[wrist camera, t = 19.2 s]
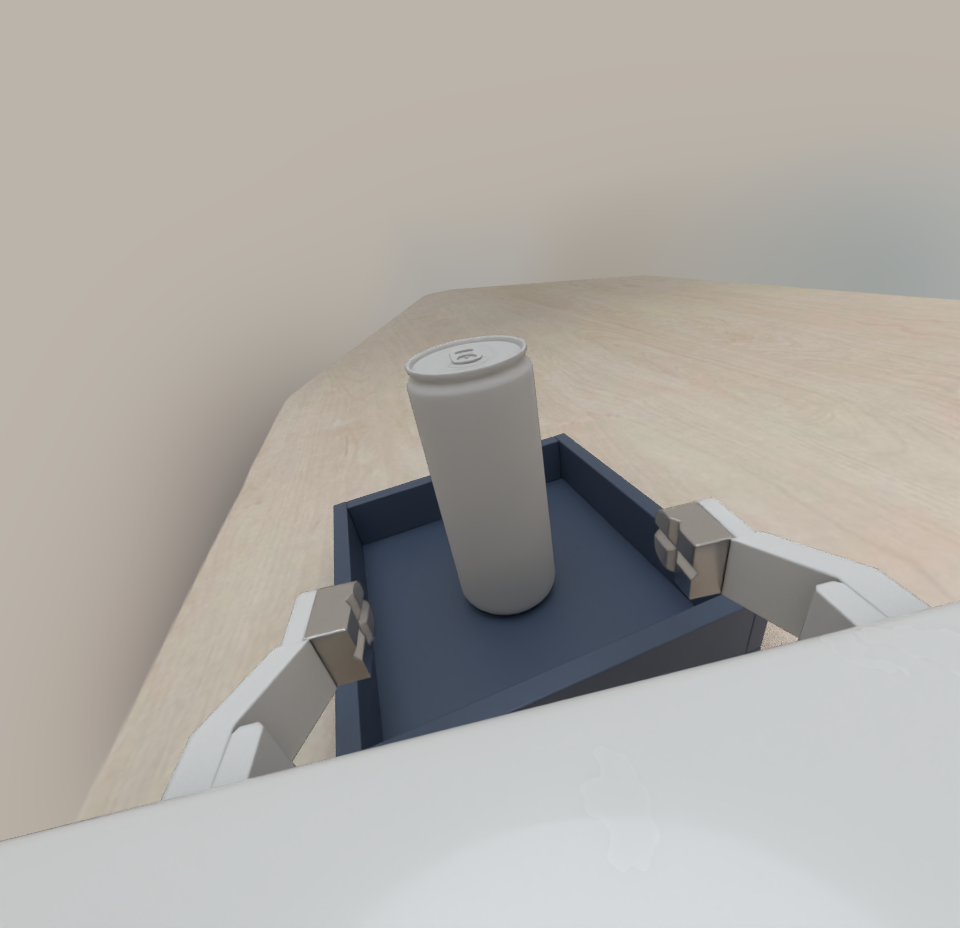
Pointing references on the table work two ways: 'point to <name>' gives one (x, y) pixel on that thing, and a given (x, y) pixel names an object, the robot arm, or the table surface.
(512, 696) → the tray
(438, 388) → the beverage can
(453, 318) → the table surface
